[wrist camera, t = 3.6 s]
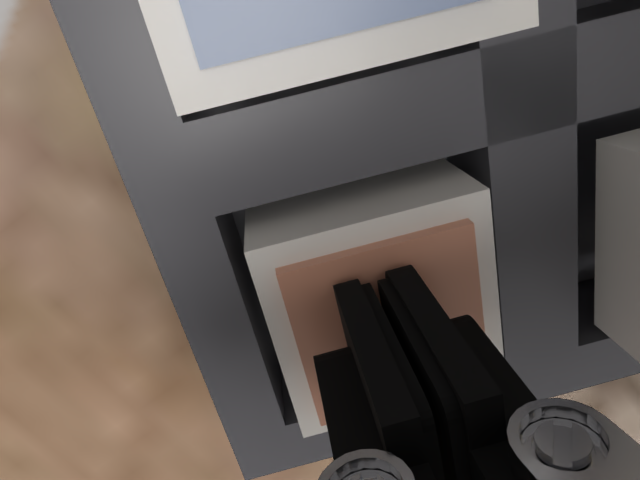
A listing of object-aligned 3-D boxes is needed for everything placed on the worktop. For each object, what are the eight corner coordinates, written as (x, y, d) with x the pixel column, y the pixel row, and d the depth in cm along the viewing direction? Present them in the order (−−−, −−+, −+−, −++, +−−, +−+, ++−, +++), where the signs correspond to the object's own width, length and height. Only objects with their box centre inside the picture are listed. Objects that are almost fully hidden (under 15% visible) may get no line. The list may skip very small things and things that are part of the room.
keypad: (845, -472, 10) (1082, -673, 7) (736, 272, 17) (832, 320, 14) (-9, -281, 9) (-120, -415, 6) (246, 404, 16) (245, 480, 13)
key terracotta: (434, 152, 13) (496, 193, 9) (455, 312, 15) (511, 391, 11) (245, 200, 12) (243, 259, 9) (293, 356, 14) (304, 447, 11)
